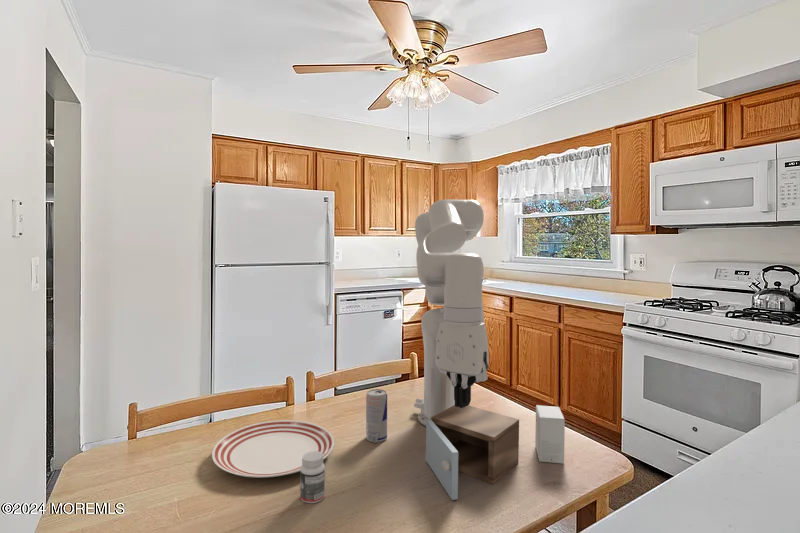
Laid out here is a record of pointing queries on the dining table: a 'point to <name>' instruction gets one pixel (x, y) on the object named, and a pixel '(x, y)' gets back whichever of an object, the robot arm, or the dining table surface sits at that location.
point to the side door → (442, 459)
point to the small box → (550, 434)
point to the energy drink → (376, 415)
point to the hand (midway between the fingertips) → (462, 405)
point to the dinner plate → (270, 448)
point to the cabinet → (481, 440)
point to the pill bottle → (312, 477)
